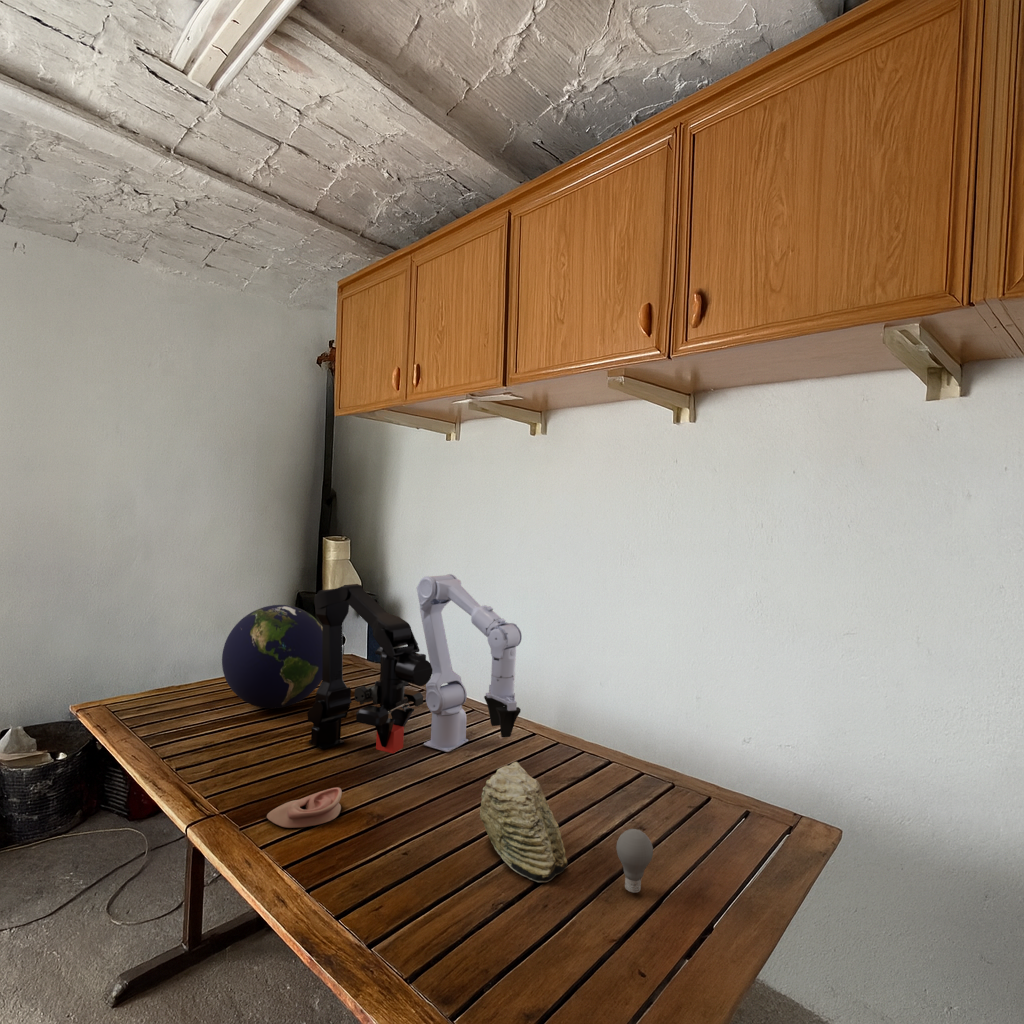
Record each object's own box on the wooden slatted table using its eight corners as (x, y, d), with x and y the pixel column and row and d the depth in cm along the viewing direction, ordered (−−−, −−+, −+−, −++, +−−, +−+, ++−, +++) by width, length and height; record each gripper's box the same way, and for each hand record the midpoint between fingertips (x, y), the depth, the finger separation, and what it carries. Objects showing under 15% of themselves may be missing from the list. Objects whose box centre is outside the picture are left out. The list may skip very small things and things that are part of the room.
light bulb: (610, 879, 108) (613, 822, 108) (644, 879, 109) (647, 822, 109) (619, 902, 102) (622, 840, 102) (655, 901, 103) (658, 840, 103)
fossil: (501, 827, 124) (504, 751, 124) (575, 868, 111) (578, 784, 111) (467, 843, 118) (470, 763, 118) (541, 889, 105) (545, 799, 105)
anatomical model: (258, 803, 122) (290, 777, 133) (257, 823, 122) (290, 796, 133) (321, 812, 119) (349, 786, 130) (320, 833, 119) (348, 805, 130)
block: (386, 743, 149) (387, 722, 149) (403, 747, 147) (404, 726, 147) (375, 749, 145) (376, 728, 145) (393, 753, 143) (394, 732, 143)
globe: (289, 685, 209) (292, 594, 208) (348, 705, 191) (352, 606, 191) (199, 706, 185) (203, 604, 184) (258, 732, 167) (262, 619, 167)
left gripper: (387, 662, 158) (384, 724, 158) (337, 680, 141) (335, 750, 141) (425, 669, 153) (422, 733, 154) (379, 688, 136) (376, 760, 137)
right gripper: (478, 667, 158) (476, 721, 158) (497, 684, 144) (494, 743, 144) (505, 666, 160) (502, 719, 161) (525, 682, 147) (523, 740, 147)
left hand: (389, 743), depth 146 cm, fingers closed on block, 4 cm apart
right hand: (500, 730), depth 153 cm, fingers open, 7 cm apart
